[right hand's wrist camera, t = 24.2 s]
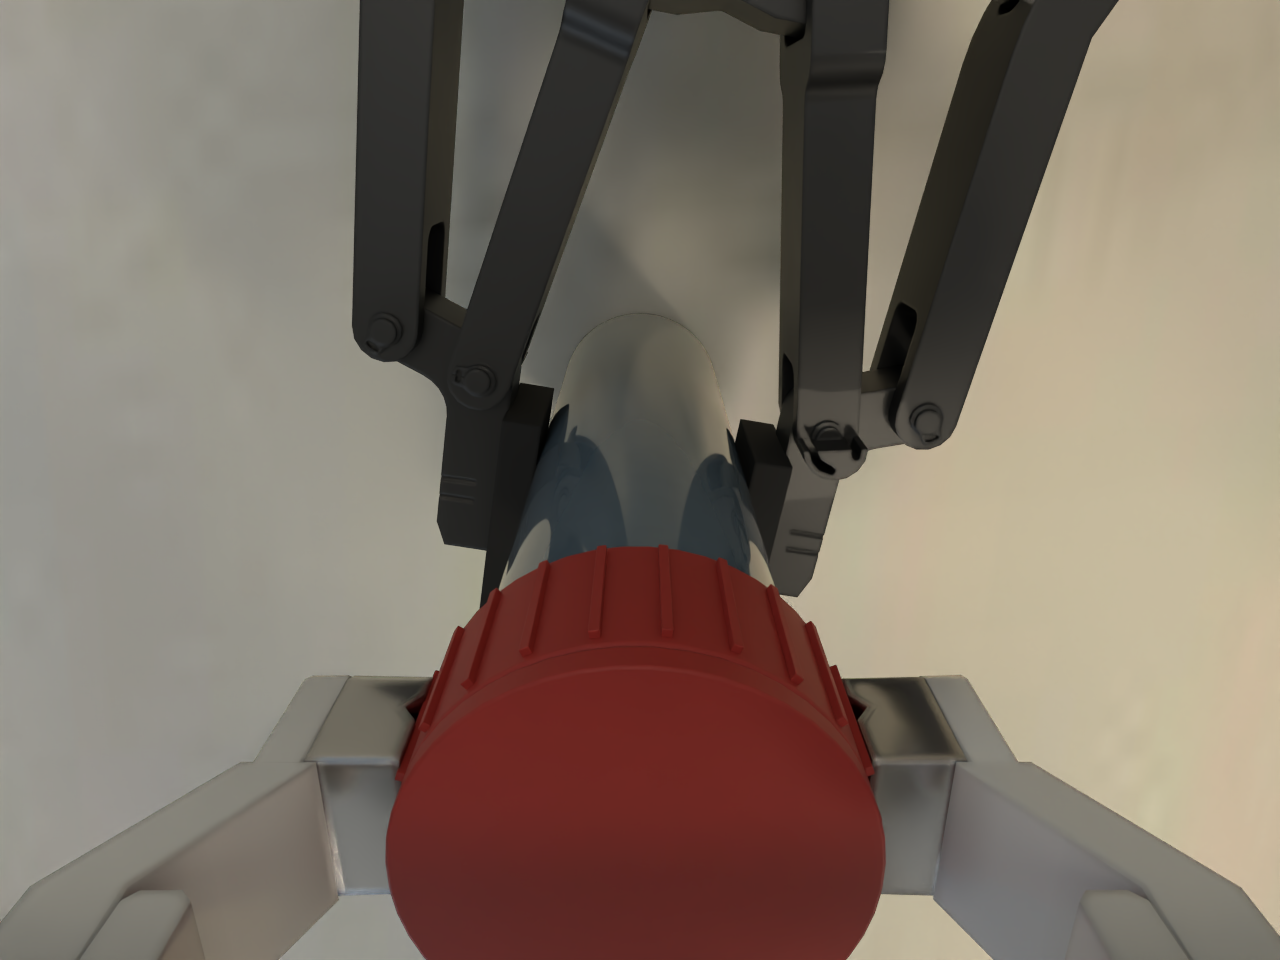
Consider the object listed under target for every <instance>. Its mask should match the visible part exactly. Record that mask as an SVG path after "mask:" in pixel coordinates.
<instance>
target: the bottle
mask: <svg viewBox="0 0 1280 960" xmlns="http://www.w3.org/2000/svg"><path fill="white" fill-rule="evenodd" d="M659 544H662V545H668V549H675V550H681V551H685V552H689V553H693V554H697V555H702V556H705V557H708V558H711V559H713V560H716V561H717V560H718V558H719V557H720V558H722V559H725V560H727V563H728V565H730V566H732V567H734V568H736V569H738V570H740V571H741V572H743V573H745V574H747V575H749V576H751V577H753V578H755V579H756V580H758V581H759V582H761V583H762V584H764V585H765V586H766V587H768V586H769V585H770V584H772V585H774V586H775V587H776V583H775V580H774V576H773V573H772V570H771V566H770V563H769V559H768V556H767V552H766V549H765V545H764V542H763V538H762V535H761V531H760V528H759V525H758V521H757V518H756V514H755V511H754V507H753V504H752V500H751V497H750V493H749V490H748V486H747V483H746V480H745V476H744V473H743V469H742V466H741V462H740V459H739V455H738V452H737V448H736V445H735V441H734V438H733V435H732V431H731V428H730V424H729V421H728V417H727V414H726V410H725V407H724V403H723V400H722V396H721V393H720V390H719V386H718V383H717V379H716V376H715V372H714V369H713V366H712V362H711V360H710V358H709V355H708V353H707V351H706V350H705V348H704V347H703V345H702V344H701V342H700V341H699V340H698V339H697V338H696V337H695V336H694V335H693V334H692V333H691V332H690V331H689V330H688V329H686V328H685V327H683V326H682V325H680V324H679V323H677V322H675V321H673V320H671V319H668V318H665V317H662V316H658V315H654V314H645V313H636V314H627V315H622V316H618V317H615V318H612V319H610V320H608V321H606V322H604V323H602V324H600V325H599V326H597V327H596V328H594V329H593V330H592V331H591V332H589V333H588V334H587V335H586V336H585V337H584V338H583V339H582V341H581V342H580V343H579V344H578V346H577V347H576V349H575V350H574V352H573V354H572V356H571V359H570V361H569V364H568V367H567V370H566V374H565V377H564V380H563V383H562V387H561V390H560V393H559V396H558V399H557V403H556V406H555V409H554V412H553V416H552V419H551V422H550V425H549V428H548V432H547V435H546V438H545V441H544V445H543V448H542V451H541V454H540V457H539V461H538V464H537V467H536V470H535V474H534V477H533V480H532V483H531V486H530V490H529V493H528V496H527V499H526V503H525V506H524V509H523V512H522V515H521V519H520V522H519V525H518V528H517V532H516V535H515V538H514V541H513V544H512V548H511V551H510V554H509V557H508V561H507V564H506V567H505V570H504V573H503V577H502V580H501V583H500V586H499V591H501V590H502V589H504V588H505V587H506V586H508V585H509V584H511V583H512V582H513V581H515V580H516V579H518V578H520V577H522V576H524V575H526V574H528V573H529V572H531V571H533V570H535V569H537V568H538V565H539V563H540V562H543V561H545V560H548V562H549V563H551V562H554V561H557V560H559V559H562V558H564V557H567V556H571V555H575V554H579V553H584V552H588V551H592V550H597V546H602V545H606V546H607V548H614V547H646V546H647V547H658V546H659ZM776 588H777V587H776Z"/></svg>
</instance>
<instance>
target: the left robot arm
mask: <svg viewBox="0 0 1280 960" xmlns="http://www.w3.org/2000/svg"><path fill="white" fill-rule="evenodd" d="M1117 2H1118V0H991V2H990V4H989V5H988V7H987V9H986V10H985V12H984V14H983V16H982V18H981V20H980V22H979V25H978V27H977V29H976V31H975V33H974V35H973V37H972V40H971V42H970V45H969V48H968V51H967V53H966V56H965V59H964V62H963V65H962V68H961V71H960V74H959V78H958V81H957V84H956V88H955V91H954V94H953V98H952V101H951V104H950V107H949V111H948V114H947V117H946V121H945V124H944V127H943V131H942V134H941V137H940V140H939V144H938V147H937V150H936V154H935V157H934V160H933V163H932V167H931V170H930V173H929V177H928V180H927V183H926V187H925V190H924V193H923V196H922V200H921V203H920V206H919V210H918V213H917V216H916V220H915V223H914V226H913V229H912V233H911V236H910V239H909V243H908V246H907V249H906V253H905V256H904V259H903V262H902V266H901V269H900V272H899V276H898V279H897V282H896V285H895V289H894V292H893V295H892V299H891V302H890V305H889V309H888V312H887V315H886V318H885V322H884V325H883V328H882V332H881V335H880V338H879V342H878V345H877V348H876V351H875V355H874V358H873V361H872V365H871V368H870V371H866V372H862V364H863V344H864V325H865V305H866V286H867V266H868V247H869V227H870V208H871V188H872V169H873V149H874V130H875V110H876V95H877V89H878V85H879V82H880V79H881V76H882V74H883V70H884V65H885V58H886V48H887V29H888V11H889V0H566V3H565V7H564V11H563V16H562V22H561V27H560V30H559V34H558V37H557V40H556V43H555V46H554V49H553V52H552V55H551V58H550V61H549V64H548V67H547V70H546V73H545V77H544V80H543V83H542V86H541V89H540V92H539V95H538V98H537V101H536V104H535V107H534V110H533V113H532V116H531V119H530V122H529V125H528V128H527V131H526V134H525V137H524V140H523V143H522V146H521V149H520V152H519V155H518V158H517V161H516V164H515V167H514V170H513V173H512V176H511V179H510V182H509V185H508V188H507V191H506V194H505V197H504V200H503V203H502V206H501V209H500V212H499V215H498V218H497V221H496V224H495V227H494V230H493V233H492V236H491V240H490V243H489V246H488V249H487V252H486V255H485V258H484V261H483V264H482V267H481V270H480V273H479V276H478V279H477V282H476V285H475V288H474V291H473V294H472V297H471V300H470V303H469V306H468V309H467V310H466V309H465V308H463V307H461V306H459V305H457V304H456V303H454V302H452V301H450V300H448V299H446V298H445V291H446V275H447V260H448V244H449V228H450V212H451V196H452V180H453V165H454V149H455V133H456V117H457V101H458V85H459V70H460V54H461V38H462V22H463V6H464V0H360V19H359V61H358V102H357V143H356V185H355V226H354V267H353V309H352V328H353V334H354V339H355V340H356V342H357V344H358V345H359V347H360V349H361V350H362V351H363V352H365V353H366V354H367V355H368V356H370V357H371V358H373V359H376V360H379V361H382V362H393V361H398V362H399V363H401V364H403V365H405V366H407V367H409V368H411V369H413V370H415V371H416V372H418V373H420V374H422V375H424V376H425V377H427V378H428V379H430V380H431V381H432V382H433V383H434V384H435V385H436V386H437V387H438V388H439V390H440V391H441V393H442V395H443V397H444V400H445V403H446V406H447V420H446V430H445V441H444V451H443V462H442V472H441V475H442V477H441V483H440V493H439V494H440V497H439V504H438V515H437V523H438V526H439V529H440V532H441V535H442V538H443V541H444V544H447V545H453V546H460V547H466V548H473V549H479V550H486V551H487V552H486V560H485V568H484V577H483V585H482V594H481V602H480V608H481V607H482V606H484V605H485V604H486V603H487V600H488V597H489V594H490V592H491V591H493V590H494V589H495V588H497V589H498V590H499V586H500V583H501V580H502V577H503V573H504V570H505V567H506V564H507V561H508V557H509V554H510V551H511V548H512V544H513V541H514V538H515V535H516V532H517V528H518V525H519V522H520V519H521V515H522V512H523V509H524V506H525V503H526V499H527V496H528V493H529V490H530V486H531V483H532V480H533V477H534V474H535V470H536V467H537V464H538V461H539V457H540V454H541V451H542V448H543V445H544V441H545V438H546V435H547V432H548V428H549V421H550V414H551V407H552V400H553V392H554V388H549V387H543V386H537V385H531V384H525V383H520V384H519V381H520V373H521V365H522V363H523V361H524V359H525V357H526V355H527V353H528V352H527V351H528V348H529V345H530V342H531V340H532V337H533V334H534V331H535V329H536V326H537V323H538V320H539V318H540V315H541V312H542V309H543V307H544V304H545V301H546V298H547V296H548V293H549V290H550V287H551V285H552V282H553V279H554V276H555V274H556V271H557V268H558V265H559V263H560V260H561V257H562V254H563V252H564V249H565V246H566V243H567V241H568V238H569V235H570V232H571V230H572V227H573V224H574V221H575V218H576V216H577V213H578V210H579V207H580V205H581V202H582V199H583V196H584V194H585V191H586V188H587V185H588V183H589V180H590V177H591V174H592V172H593V169H594V166H595V163H596V161H597V158H598V155H599V152H600V150H601V147H602V144H603V141H604V139H605V136H606V133H607V130H608V128H609V125H610V122H611V119H612V117H613V114H614V111H615V108H616V106H617V103H618V100H619V97H620V95H621V92H622V89H623V86H624V84H625V81H626V78H627V75H628V73H629V70H630V67H631V65H632V63H633V60H634V58H635V55H636V53H637V50H638V47H639V45H640V42H641V39H642V36H643V34H644V31H645V28H646V25H647V23H648V20H649V17H650V14H651V12H652V10H655V11H660V12H665V13H671V14H676V15H679V14H689V13H699V12H708V11H723V12H725V13H727V14H729V15H731V16H733V17H735V18H737V19H739V20H741V21H742V22H744V23H746V24H748V25H750V26H752V27H754V28H756V29H758V30H759V31H763V32H769V33H774V34H779V35H780V84H781V90H782V95H783V141H782V207H781V273H780V340H779V408H780V417H779V421H778V425H777V429H775V427H774V425H773V424H767V423H761V422H755V421H749V420H743V419H740V423H739V428H738V432H737V437H736V441H735V445H736V448H737V452H738V455H739V459H740V462H741V466H742V469H743V473H744V476H745V480H746V483H747V486H748V490H749V493H750V497H751V500H752V504H753V507H754V511H755V514H756V518H757V521H758V525H759V528H760V531H761V535H762V538H763V542H764V545H765V549H766V552H767V556H768V559H769V563H770V566H771V570H772V573H773V576H774V580H775V583H776V587H777V588H778V591H779V594H780V595H786V596H793V597H798V596H799V594H800V593H801V592H802V591H803V589H804V588H805V587H806V585H807V584H808V583H809V581H810V580H811V579H812V576H813V573H814V569H815V565H816V562H817V558H818V552H819V551H820V547H821V544H822V540H823V535H824V533H825V529H826V526H827V522H828V518H829V515H830V511H831V507H832V504H833V500H834V497H835V493H836V489H837V486H838V482H839V480H840V479H844V478H847V477H849V476H851V475H852V474H854V473H855V472H857V471H858V470H859V468H860V467H861V466H862V464H863V463H864V462H865V459H866V456H867V452H868V450H872V449H876V448H882V447H888V446H894V445H900V444H906V445H907V446H910V447H912V448H914V449H931V448H934V447H936V446H939V445H941V444H942V443H943V442H945V441H946V440H947V439H948V438H949V437H950V436H951V434H952V433H953V431H954V429H955V427H956V425H957V422H958V419H959V416H960V414H961V411H962V408H963V405H964V402H965V399H966V396H967V394H968V391H969V388H970V385H971V382H972V379H973V376H974V373H975V371H976V368H977V365H978V362H979V359H980V356H981V353H982V351H983V348H984V345H985V342H986V339H987V336H988V333H989V331H990V328H991V325H992V322H993V319H994V316H995V313H996V311H997V308H998V305H999V302H1000V299H1001V296H1002V293H1003V290H1004V288H1005V285H1006V282H1007V279H1008V276H1009V273H1010V270H1011V268H1012V265H1013V262H1014V259H1015V256H1016V253H1017V250H1018V248H1019V245H1020V242H1021V239H1022V236H1023V233H1024V230H1025V228H1026V225H1027V222H1028V219H1029V216H1030V213H1031V210H1032V207H1033V205H1034V202H1035V199H1036V196H1037V193H1038V190H1039V187H1040V185H1041V182H1042V179H1043V176H1044V173H1045V170H1046V167H1047V165H1048V162H1049V159H1050V156H1051V153H1052V150H1053V147H1054V145H1055V142H1056V139H1057V136H1058V133H1059V130H1060V127H1061V124H1062V122H1063V119H1064V116H1065V113H1066V110H1067V107H1068V104H1069V102H1070V99H1071V96H1072V93H1073V90H1074V87H1075V84H1076V82H1077V79H1078V76H1079V73H1080V70H1081V67H1082V64H1083V62H1084V59H1085V56H1086V53H1087V50H1088V47H1089V44H1090V42H1091V39H1092V37H1093V35H1094V34H1095V33H1096V31H1097V30H1098V28H1099V27H1100V26H1101V24H1102V23H1103V21H1104V20H1105V19H1106V17H1107V16H1108V14H1109V13H1110V12H1111V10H1112V9H1113V7H1114V6H1115V5H1116V3H1117Z"/></svg>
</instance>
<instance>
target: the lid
mask: <svg viewBox="0 0 1280 960" xmlns="http://www.w3.org/2000/svg"><path fill="white" fill-rule="evenodd" d="M433 678H434V679H433V681H432V684H431V687H430V689H429V692H428V695H427V698H426V700H425V702H423V704H422V707H421V709H420V712H419V715H418V717H417V720H416V722H415V730H414V733H413V735H412V738H411V740H410V743H409V745H408V748H407V751H406V753H405V756H404V758H403V761H402V764H401V766H400V769H398V770H397V773H396V776H395V780H397V781H401V782H402V783H401V786H400V789H399V791H398V794H397V797H396V800H395V802H394V805H393V808H392V811H391V814H390V819H389V824H388V829H387V834H386V854H385V864H386V870H387V877H388V884H389V890H390V893H391V896H392V899H393V902H394V905H395V908H396V911H397V914H398V916H399V918H400V920H401V922H402V924H403V926H404V928H405V930H406V932H407V934H408V936H409V937H410V938H411V940H412V941H413V943H414V944H415V945H416V947H417V948H418V950H419V951H420V953H421V954H422V955H423V957H424V958H425V959H426V960H846V959H847V958H848V957H849V956H850V954H851V953H852V951H853V950H854V949H855V947H856V946H857V944H858V943H859V941H860V940H861V939H862V937H863V936H864V934H865V932H866V930H867V928H868V926H869V924H870V922H871V920H872V918H873V916H874V914H875V911H876V907H877V904H878V901H879V898H880V895H881V891H882V888H883V881H884V873H885V866H886V848H885V834H884V830H883V825H882V817H881V815H880V811H879V808H878V805H877V803H876V800H875V797H874V794H873V791H872V789H871V786H870V782H869V779H868V776H870V775H874V774H875V772H874V769H873V766H872V763H871V760H870V757H869V755H868V752H867V749H866V746H865V743H864V741H863V738H862V735H861V732H860V730H859V727H858V724H857V721H856V718H855V716H854V713H853V710H852V707H851V705H850V702H849V699H848V696H847V693H846V691H845V688H844V685H843V682H842V679H841V677H840V674H839V671H838V668H837V666H836V665H834V666H831V667H829V664H828V661H827V658H826V656H825V653H824V650H823V647H822V644H821V641H820V638H819V635H818V632H817V629H816V627H815V625H814V624H813V623H812V622H811V621H810V622H808V623H807V624H806V623H805V622H804V621H803V620H802V618H801V617H800V616H799V615H798V614H797V612H796V611H795V610H794V609H793V608H792V607H791V606H789V605H788V604H787V603H786V602H785V601H784V600H783V599H782V598H781V597H780V595H779V591H778V588H776V587H775V586H774V585H772V584H770V585H769V586H768V587H766V586H765V585H764V584H762V583H761V582H759V581H758V580H756V579H755V578H753V577H751V576H749V575H747V574H745V573H743V572H741V571H740V570H738V569H736V568H734V567H732V566H730V565H728V563H727V560H725V559H722V558H720V557H719V558H718V560H717V561H716V560H713V559H711V558H708V557H705V556H702V555H697V554H693V553H689V552H685V551H681V550H675V549H668V545H662V544H659V546H658V547H647V546H646V547H614V548H607V546H606V545H602V546H597V550H592V551H588V552H584V553H579V554H575V555H571V556H567V557H564V558H562V559H559V560H557V561H554V562H551V563H549V562H548V560H545V561H543V562H540V563H539V565H538V568H537V569H535V570H533V571H531V572H529V573H528V574H526V575H524V576H522V577H520V578H518V579H516V580H515V581H513V582H512V583H511V584H509V585H508V586H506V587H505V588H504V589H502V590H501V591H499V590H498V589H497V588H495V589H494V590H493V591H491V592H490V594H489V597H488V600H487V603H486V604H485V605H484V606H482V607H481V608H480V609H479V610H478V611H477V612H476V614H475V615H474V616H473V617H472V619H471V620H470V621H469V622H468V624H467V625H466V626H465V627H464V629H463V628H462V627H460V626H458V627H457V628H456V630H455V631H454V633H453V636H452V639H451V641H450V644H449V647H448V649H447V652H446V655H445V657H444V660H443V663H442V665H441V668H440V671H437V670H436V671H435V672H434V675H433Z"/></svg>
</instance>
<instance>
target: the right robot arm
mask: <svg viewBox="0 0 1280 960" xmlns="http://www.w3.org/2000/svg"><path fill="white" fill-rule="evenodd" d="M433 679H434V678H433V677H394V676H353V677H351V676H349V675H335V676H311V677H309V678H307V679H305V680H304V681H303V682H302V684H301V686H300V687H299V689H298V690H297V692H296V694H295V695H294V697H293V699H292V700H291V702H290V703H289V705H288V707H287V708H286V710H285V711H284V713H283V715H282V716H281V718H280V720H279V721H278V723H277V724H276V726H275V728H274V729H273V731H272V733H271V734H270V736H269V737H268V739H267V741H266V742H265V744H264V745H263V747H262V749H261V750H260V752H259V754H258V755H257V757H256V758H255V760H254V762H240V763H238V764H237V765H235V766H233V767H231V768H230V769H228V770H226V771H225V772H223V773H221V774H220V775H218V776H216V777H215V778H213V779H211V780H209V781H208V782H206V783H204V784H203V785H201V786H199V787H198V788H196V789H194V790H192V791H191V792H189V793H187V794H186V795H184V796H182V797H181V798H179V799H177V800H176V801H174V802H172V803H170V804H169V805H167V806H165V807H164V808H162V809H160V810H159V811H157V812H155V813H153V814H152V815H150V816H148V817H147V818H145V819H143V820H142V821H140V822H138V823H137V824H135V825H133V826H131V827H130V828H128V829H126V830H125V831H123V832H121V833H120V834H118V835H116V836H115V837H113V838H111V839H109V840H108V841H106V842H104V843H103V844H101V845H99V846H98V847H96V848H94V849H92V850H91V851H89V852H87V853H86V854H84V855H82V856H81V857H79V858H77V859H76V860H74V861H72V862H70V863H69V864H67V865H65V866H64V867H62V868H60V869H59V870H57V871H55V872H53V873H52V874H50V875H48V876H47V877H45V878H43V879H42V880H40V881H38V882H37V883H35V884H33V885H31V886H30V887H29V888H28V889H27V891H26V892H25V893H24V894H23V896H22V897H21V898H20V899H19V901H18V902H17V903H16V904H15V905H14V907H13V908H12V909H11V910H10V912H9V913H8V914H7V915H6V917H5V918H4V919H3V920H2V921H1V923H0V960H278V959H280V958H281V957H282V956H283V955H284V954H285V953H286V952H287V951H288V950H289V949H290V948H291V947H292V946H293V945H294V944H295V943H296V942H297V941H298V940H299V939H300V938H301V937H302V936H303V935H304V934H305V933H306V932H307V931H308V930H309V929H310V928H311V927H312V926H313V925H314V924H315V923H316V922H317V921H318V920H319V919H320V918H321V917H322V916H323V915H324V914H325V913H326V912H327V911H328V910H329V909H330V908H331V907H332V906H333V905H334V904H335V903H336V902H337V901H338V900H339V897H338V895H372V894H391V893H390V890H389V884H388V877H387V870H386V864H385V854H386V834H387V829H388V824H389V819H390V814H391V811H392V808H393V805H394V802H395V800H396V797H397V794H398V791H399V789H400V786H401V783H402V782H401V781H397V780H395V776H396V773H397V770H398V769H400V766H401V764H402V761H403V758H404V756H405V753H406V751H407V748H408V745H409V743H410V740H411V738H412V735H413V733H414V730H415V722H416V720H417V717H418V715H419V712H420V709H421V707H422V704H423V702H425V700H426V698H427V695H428V692H429V689H430V687H431V684H432V681H433ZM841 679H842V682H843V685H844V688H845V691H846V693H847V696H848V699H849V702H850V705H851V707H852V710H853V713H854V716H855V718H856V721H857V724H858V727H859V730H860V732H861V735H862V738H863V741H864V743H865V746H866V749H867V752H868V755H869V757H870V760H871V763H872V766H873V769H874V772H875V774H874V775H870V776H868V779H869V782H870V786H871V789H872V791H873V794H874V797H875V800H876V803H877V805H878V808H879V811H880V815H881V817H882V825H883V830H884V834H885V848H886V866H885V873H884V881H883V888H882V891H881V894H899V895H934V896H933V899H934V900H935V901H936V902H937V903H938V904H939V905H940V907H941V908H942V909H943V910H944V911H945V912H946V913H947V914H948V915H949V916H950V917H951V918H952V919H953V920H954V921H955V922H956V923H957V924H958V925H959V926H960V927H961V928H962V929H963V930H964V931H965V932H966V933H967V934H968V935H969V936H970V937H971V938H972V939H973V940H974V941H975V942H976V943H977V944H978V945H979V946H980V947H981V948H982V949H983V950H984V951H985V952H986V953H987V954H988V955H989V956H990V957H991V958H992V959H993V960H1280V936H1279V935H1278V934H1277V932H1276V931H1275V930H1274V928H1273V927H1272V926H1271V925H1270V923H1269V922H1268V921H1267V920H1266V918H1265V917H1264V916H1263V915H1262V913H1261V912H1260V911H1259V910H1258V908H1257V907H1256V906H1255V904H1254V903H1253V902H1252V901H1251V899H1250V898H1249V897H1248V896H1247V894H1246V893H1245V892H1244V891H1243V889H1242V888H1241V887H1239V886H1237V885H1236V884H1234V883H1232V882H1231V881H1229V880H1227V879H1226V878H1224V877H1222V876H1221V875H1219V874H1217V873H1216V872H1214V871H1212V870H1211V869H1209V868H1207V867H1206V866H1204V865H1202V864H1201V863H1199V862H1197V861H1196V860H1194V859H1192V858H1191V857H1189V856H1187V855H1186V854H1184V853H1182V852H1181V851H1179V850H1177V849H1176V848H1174V847H1172V846H1171V845H1169V844H1167V843H1166V842H1164V841H1162V840H1160V839H1159V838H1157V837H1155V836H1154V835H1152V834H1150V833H1149V832H1147V831H1145V830H1144V829H1142V828H1140V827H1139V826H1137V825H1135V824H1134V823H1132V822H1130V821H1129V820H1127V819H1125V818H1124V817H1122V816H1120V815H1119V814H1117V813H1115V812H1114V811H1112V810H1110V809H1109V808H1107V807H1105V806H1104V805H1102V804H1100V803H1099V802H1097V801H1095V800H1094V799H1092V798H1090V797H1089V796H1087V795H1085V794H1083V793H1082V792H1080V791H1078V790H1077V789H1075V788H1073V787H1072V786H1070V785H1068V784H1067V783H1065V782H1063V781H1062V780H1060V779H1058V778H1057V777H1055V776H1053V775H1052V774H1050V773H1048V772H1047V771H1045V770H1043V769H1042V768H1040V767H1038V766H1037V765H1035V764H1033V763H1032V762H1018V761H1017V759H1016V758H1015V756H1014V754H1013V753H1012V751H1011V749H1010V748H1009V746H1008V744H1007V743H1006V741H1005V740H1004V738H1003V736H1002V735H1001V733H1000V731H999V730H998V728H997V726H996V725H995V723H994V722H993V720H992V718H991V717H990V715H989V713H988V712H987V710H986V708H985V707H984V705H983V704H982V702H981V700H980V699H979V697H978V695H977V694H976V692H975V690H974V689H973V687H972V686H971V684H970V682H969V681H968V679H967V678H965V677H963V676H962V675H943V676H920V677H896V678H841Z"/></svg>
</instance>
